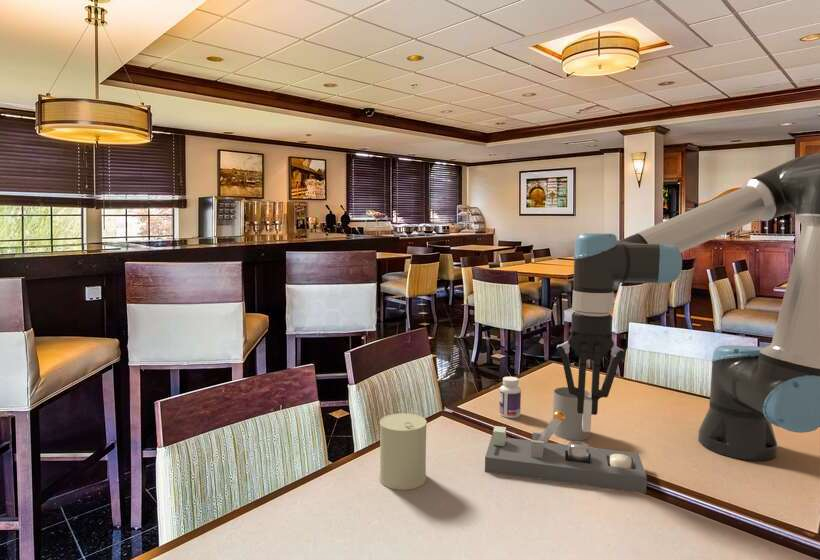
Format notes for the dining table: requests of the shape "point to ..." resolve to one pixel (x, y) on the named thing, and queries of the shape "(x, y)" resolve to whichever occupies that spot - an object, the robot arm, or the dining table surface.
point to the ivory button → (620, 461)
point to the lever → (552, 426)
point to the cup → (568, 415)
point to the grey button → (578, 452)
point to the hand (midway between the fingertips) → (586, 429)
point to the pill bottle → (510, 398)
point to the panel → (564, 464)
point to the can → (402, 451)
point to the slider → (499, 436)
